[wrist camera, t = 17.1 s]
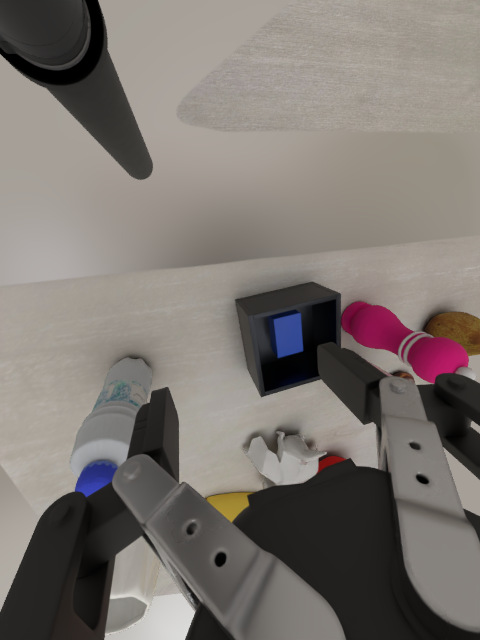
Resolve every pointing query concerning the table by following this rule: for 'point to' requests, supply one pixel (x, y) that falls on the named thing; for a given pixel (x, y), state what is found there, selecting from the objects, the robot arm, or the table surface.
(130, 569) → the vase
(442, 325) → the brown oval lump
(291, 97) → the table surface
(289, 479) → the dragon figurine
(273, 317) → the blue rectangular block
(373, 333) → the pepper mill
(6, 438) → the table surface
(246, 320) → the black open box
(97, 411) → the bottle
